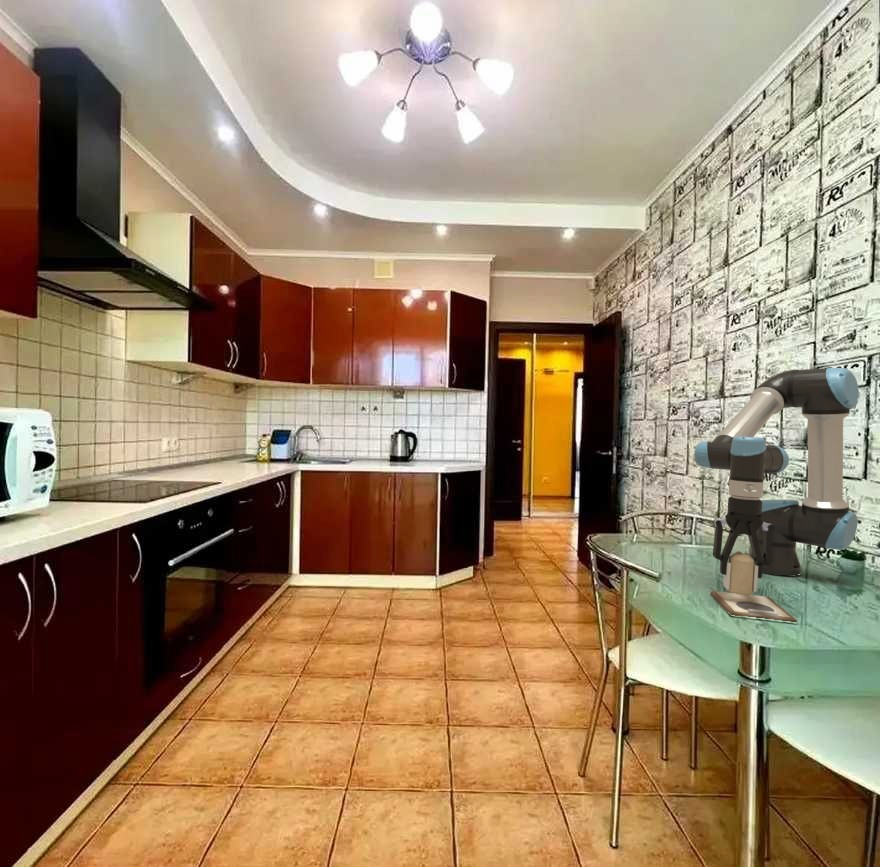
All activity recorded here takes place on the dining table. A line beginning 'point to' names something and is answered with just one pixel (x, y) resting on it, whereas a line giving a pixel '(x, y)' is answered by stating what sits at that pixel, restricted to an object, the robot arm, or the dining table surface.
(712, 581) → the dining table surface
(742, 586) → the candle
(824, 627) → the dining table surface
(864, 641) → the dining table surface
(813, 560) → the dining table surface
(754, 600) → the brown tray
